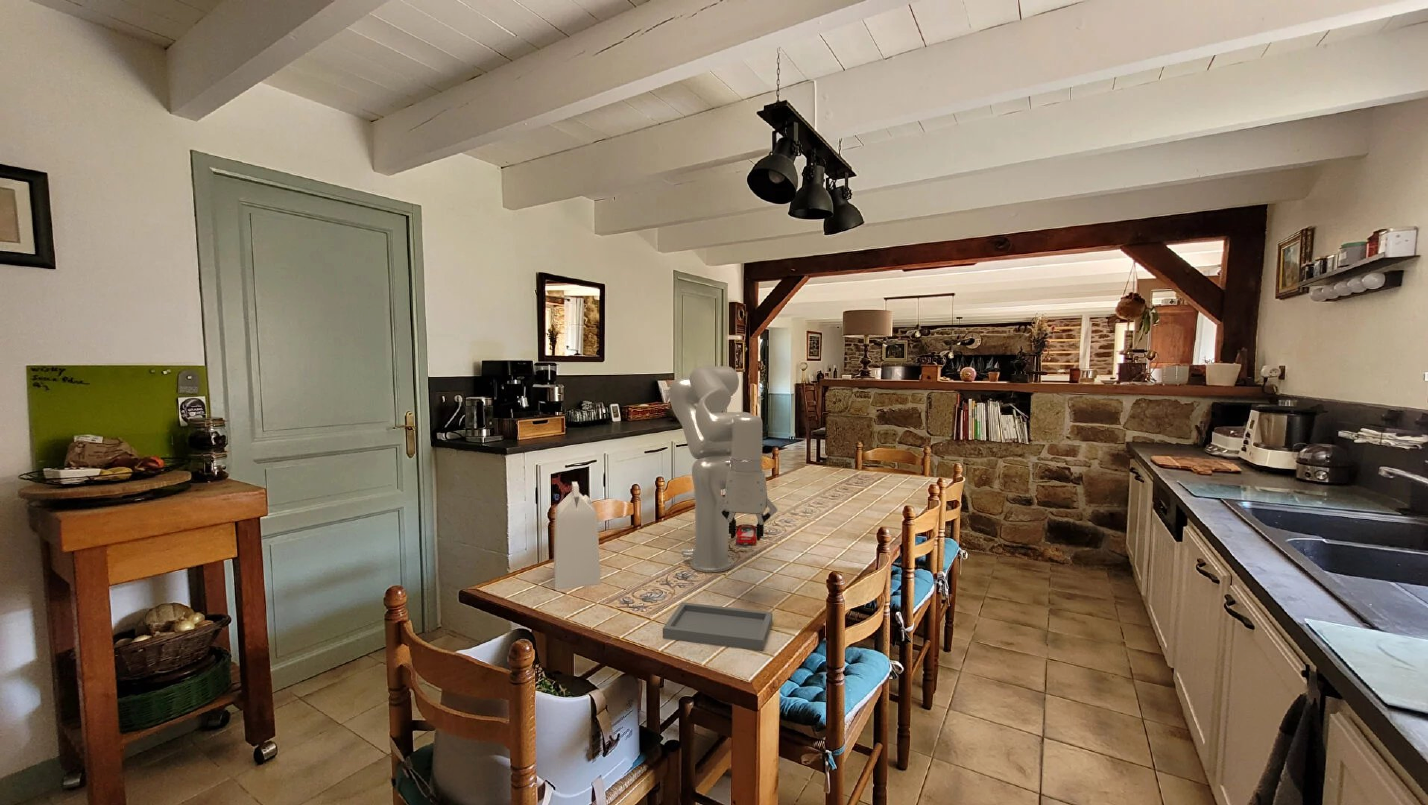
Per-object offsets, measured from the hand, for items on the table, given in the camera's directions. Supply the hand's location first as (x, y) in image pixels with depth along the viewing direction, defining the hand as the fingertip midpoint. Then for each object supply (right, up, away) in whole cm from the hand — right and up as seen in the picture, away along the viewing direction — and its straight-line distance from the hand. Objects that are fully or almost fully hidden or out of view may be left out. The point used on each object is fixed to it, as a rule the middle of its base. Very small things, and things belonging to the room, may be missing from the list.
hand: (746, 537), depth 137 cm
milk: (-45, -15, +13) cm, 49 cm away
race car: (0, -1, 0) cm, 1 cm away
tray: (-7, -16, -16) cm, 24 cm away
